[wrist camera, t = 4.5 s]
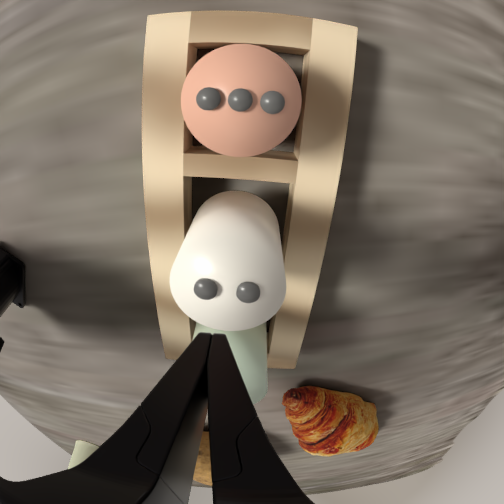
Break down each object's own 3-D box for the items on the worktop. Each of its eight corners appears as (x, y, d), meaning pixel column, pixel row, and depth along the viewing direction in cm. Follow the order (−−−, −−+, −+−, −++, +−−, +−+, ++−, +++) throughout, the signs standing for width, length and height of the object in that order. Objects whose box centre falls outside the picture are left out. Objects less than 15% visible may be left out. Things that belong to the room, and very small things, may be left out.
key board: (292, 348, 26) (294, 368, 24) (171, 338, 26) (165, 358, 24) (345, 34, 13) (357, 27, 11) (161, 23, 13) (147, 15, 11)
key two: (274, 270, 19) (278, 337, 14) (194, 264, 19) (173, 328, 14) (283, 194, 16) (295, 244, 11) (192, 187, 16) (164, 234, 11)
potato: (199, 406, 32) (191, 465, 25) (270, 442, 37) (270, 490, 30) (153, 422, 35) (142, 470, 28) (222, 454, 41) (219, 496, 34)
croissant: (377, 405, 38) (411, 432, 31) (332, 451, 37) (360, 482, 30) (302, 343, 30) (347, 383, 23) (238, 409, 29) (267, 460, 22)
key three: (284, 141, 17) (295, 163, 12) (201, 136, 17) (178, 155, 12) (292, 62, 15) (307, 49, 10) (206, 57, 15) (183, 42, 10)
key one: (262, 350, 22) (263, 412, 18) (198, 345, 22) (186, 406, 17) (269, 301, 20) (272, 368, 15) (195, 295, 20) (178, 361, 15)
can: (77, 436, 44) (62, 483, 33) (118, 454, 46) (106, 502, 36) (74, 444, 47) (61, 486, 37) (110, 461, 50) (100, 502, 40)
